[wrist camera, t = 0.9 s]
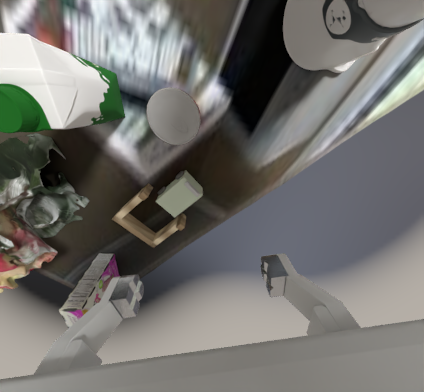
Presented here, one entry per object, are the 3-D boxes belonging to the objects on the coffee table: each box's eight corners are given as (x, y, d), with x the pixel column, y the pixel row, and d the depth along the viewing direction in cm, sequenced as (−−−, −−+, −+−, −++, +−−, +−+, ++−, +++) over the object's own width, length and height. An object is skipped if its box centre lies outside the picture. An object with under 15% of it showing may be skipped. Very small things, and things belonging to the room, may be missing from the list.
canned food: (190, 142, 37) (186, 154, 27) (155, 122, 35) (138, 128, 25) (207, 108, 34) (210, 108, 24) (170, 84, 32) (157, 74, 22)
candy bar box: (121, 277, 56) (93, 336, 41) (105, 277, 55) (71, 337, 41) (115, 252, 51) (81, 310, 36) (98, 252, 50) (56, 311, 36)
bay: (148, 183, 41) (142, 192, 36) (186, 216, 46) (184, 227, 41) (118, 211, 44) (108, 222, 40) (156, 239, 49) (152, 252, 45)
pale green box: (184, 168, 40) (181, 177, 35) (204, 188, 43) (204, 200, 37) (158, 190, 42) (152, 202, 37) (178, 209, 45) (175, 222, 40)
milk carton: (86, 121, 34) (-38, 137, 16) (68, 65, 30) (-125, 4, 12) (131, 121, 34) (57, 137, 17) (120, 66, 30) (6, 9, 12)
